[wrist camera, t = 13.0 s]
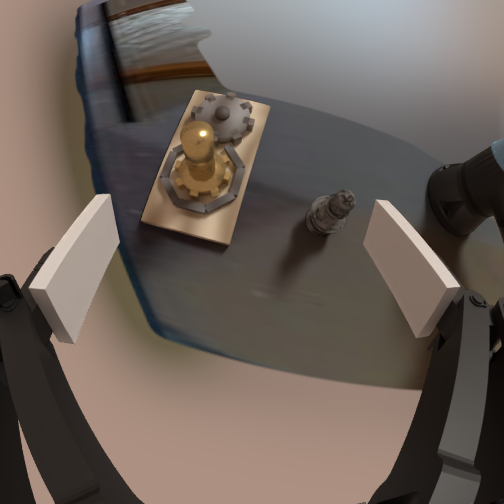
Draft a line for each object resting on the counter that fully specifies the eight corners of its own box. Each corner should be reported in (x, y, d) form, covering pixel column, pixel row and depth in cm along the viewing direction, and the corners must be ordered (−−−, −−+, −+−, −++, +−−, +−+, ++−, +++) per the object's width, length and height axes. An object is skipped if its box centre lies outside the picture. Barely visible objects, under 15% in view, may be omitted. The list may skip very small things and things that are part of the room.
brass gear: (237, 157, 44) (241, 114, 32) (221, 206, 43) (220, 173, 31) (186, 145, 44) (176, 101, 32) (168, 193, 42) (150, 157, 30)
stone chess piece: (310, 242, 45) (338, 222, 33) (299, 206, 45) (323, 177, 34) (342, 233, 45) (378, 213, 34) (331, 200, 46) (362, 170, 34)
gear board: (269, 110, 48) (272, 95, 43) (229, 246, 43) (229, 240, 39) (196, 94, 47) (194, 79, 43) (143, 222, 43) (135, 214, 38)
